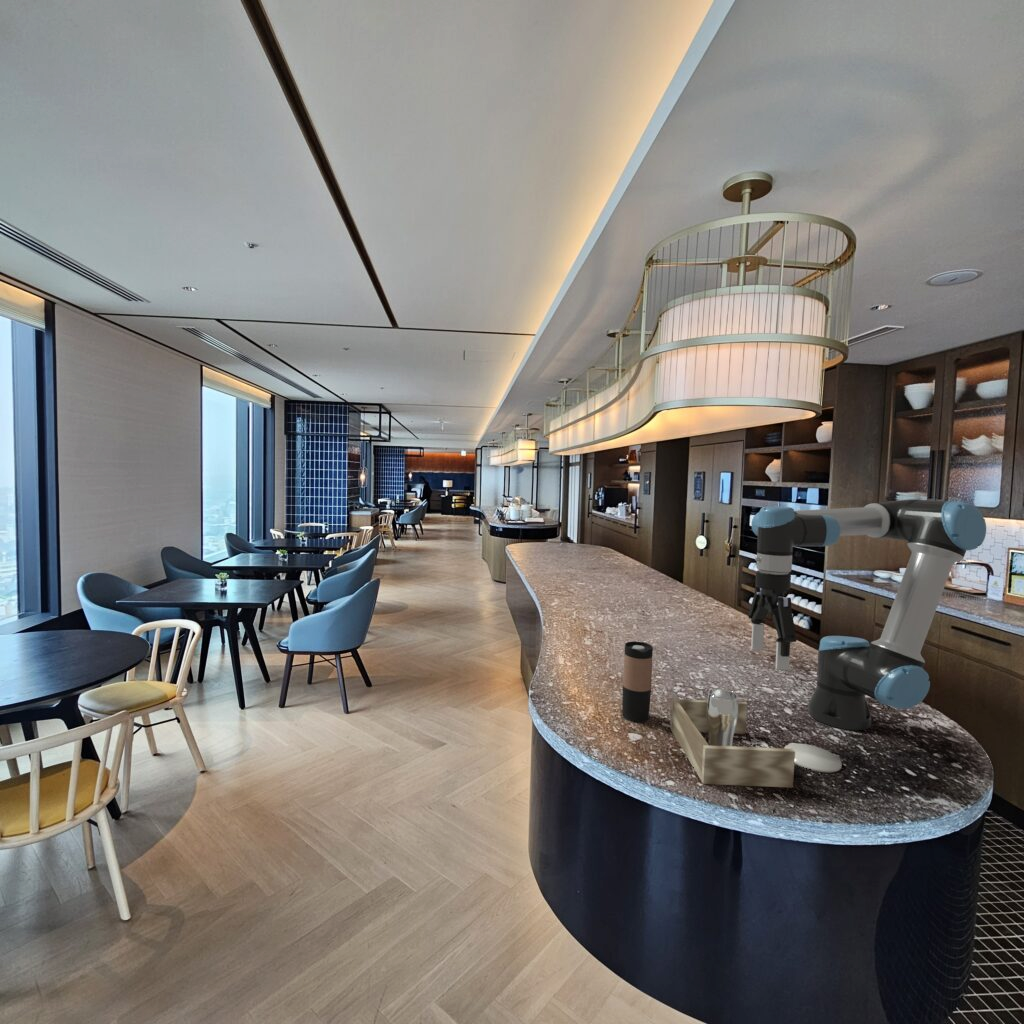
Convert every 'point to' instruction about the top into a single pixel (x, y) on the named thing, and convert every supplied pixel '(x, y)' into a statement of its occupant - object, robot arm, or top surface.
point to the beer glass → (721, 716)
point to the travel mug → (637, 681)
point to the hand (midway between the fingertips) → (768, 659)
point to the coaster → (815, 758)
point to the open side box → (728, 751)
